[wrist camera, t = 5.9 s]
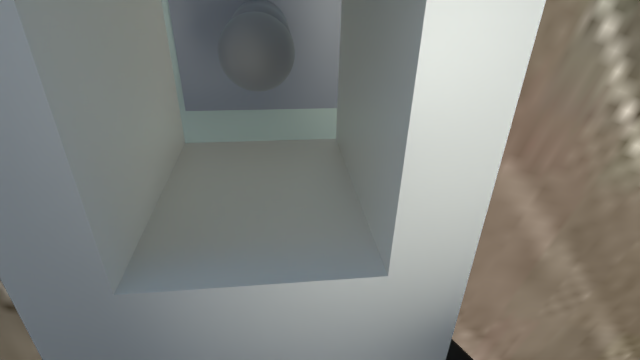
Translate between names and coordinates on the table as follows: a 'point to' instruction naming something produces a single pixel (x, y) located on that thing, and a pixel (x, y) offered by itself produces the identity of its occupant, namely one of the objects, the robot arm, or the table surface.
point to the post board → (255, 68)
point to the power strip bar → (250, 188)
